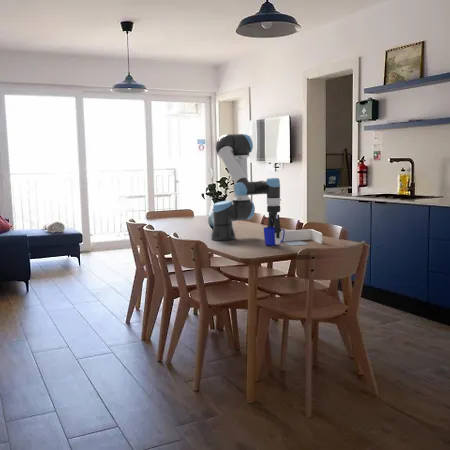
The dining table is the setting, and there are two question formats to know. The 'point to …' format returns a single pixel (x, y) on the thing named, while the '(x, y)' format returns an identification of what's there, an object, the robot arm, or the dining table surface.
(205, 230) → the dining table surface
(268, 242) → the mug
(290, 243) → the mat
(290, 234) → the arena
